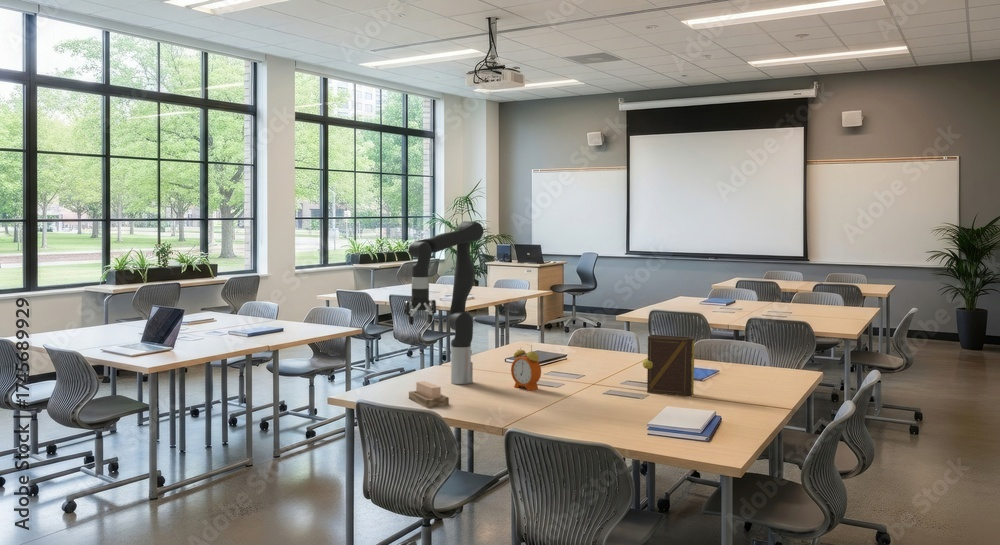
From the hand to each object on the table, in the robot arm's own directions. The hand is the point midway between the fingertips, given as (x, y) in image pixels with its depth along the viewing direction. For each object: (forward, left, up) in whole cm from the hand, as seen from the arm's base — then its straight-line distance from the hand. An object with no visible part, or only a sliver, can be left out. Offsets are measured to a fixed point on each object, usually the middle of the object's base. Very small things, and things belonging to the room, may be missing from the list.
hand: (420, 324), depth 339 cm
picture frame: (+5, +19, -30) cm, 36 cm away
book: (-93, +56, -30) cm, 113 cm away
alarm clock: (-44, +17, -30) cm, 56 cm away
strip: (+5, +19, -29) cm, 35 cm away
